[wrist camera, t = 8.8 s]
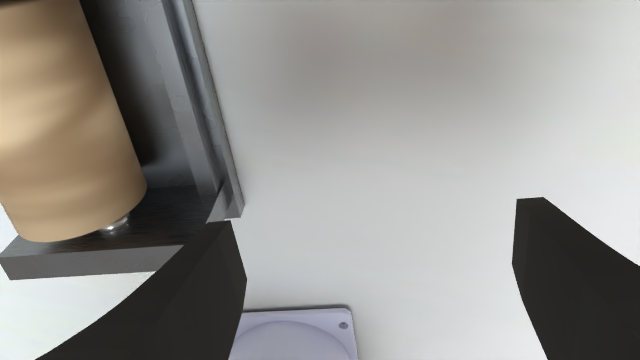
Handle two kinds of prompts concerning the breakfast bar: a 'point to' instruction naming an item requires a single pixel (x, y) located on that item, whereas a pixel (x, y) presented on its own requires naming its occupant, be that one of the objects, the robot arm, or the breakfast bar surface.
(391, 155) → the breakfast bar surface
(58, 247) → the holder
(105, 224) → the cylinder
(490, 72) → the breakfast bar surface
